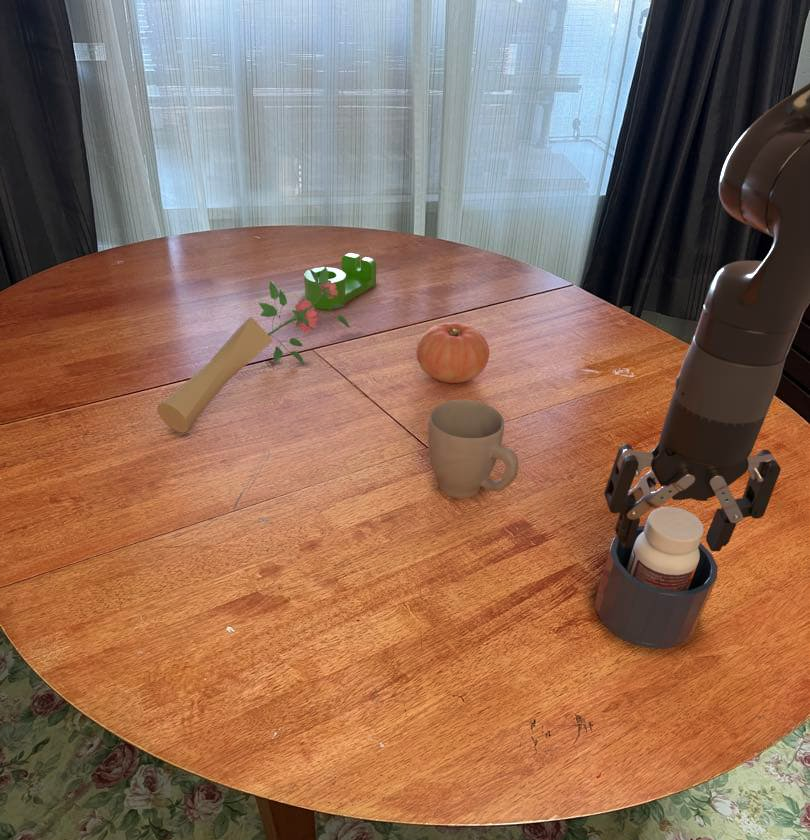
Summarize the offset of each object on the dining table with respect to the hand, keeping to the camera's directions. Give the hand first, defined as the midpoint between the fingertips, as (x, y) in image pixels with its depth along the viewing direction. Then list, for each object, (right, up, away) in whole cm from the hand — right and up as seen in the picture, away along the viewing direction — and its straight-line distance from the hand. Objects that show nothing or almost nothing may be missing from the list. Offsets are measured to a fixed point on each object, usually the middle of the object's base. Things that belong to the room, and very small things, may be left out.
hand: (668, 544), depth 73 cm
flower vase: (-47, +24, +39) cm, 66 cm away
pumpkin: (-18, +25, +43) cm, 53 cm away
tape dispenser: (-37, +45, +64) cm, 87 cm away
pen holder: (0, -7, +6) cm, 9 cm away
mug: (-17, +6, +21) cm, 28 cm away
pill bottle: (0, -7, +6) cm, 9 cm away
